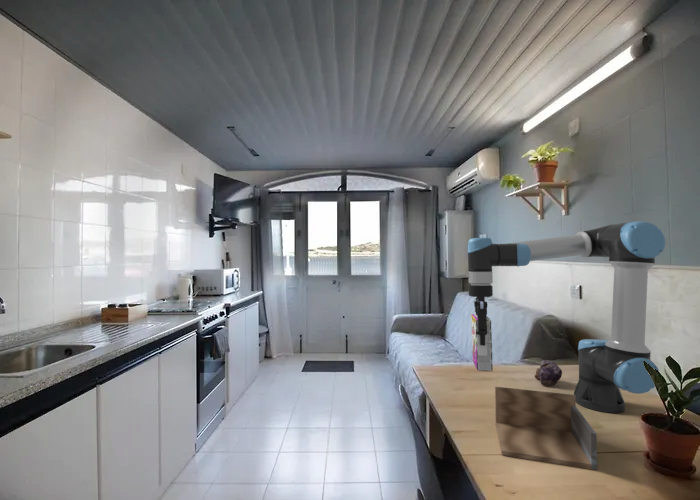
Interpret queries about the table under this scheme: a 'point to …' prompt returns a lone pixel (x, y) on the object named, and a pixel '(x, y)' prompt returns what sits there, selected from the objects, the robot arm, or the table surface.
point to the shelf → (544, 428)
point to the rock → (548, 373)
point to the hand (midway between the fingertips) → (481, 350)
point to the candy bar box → (479, 360)
